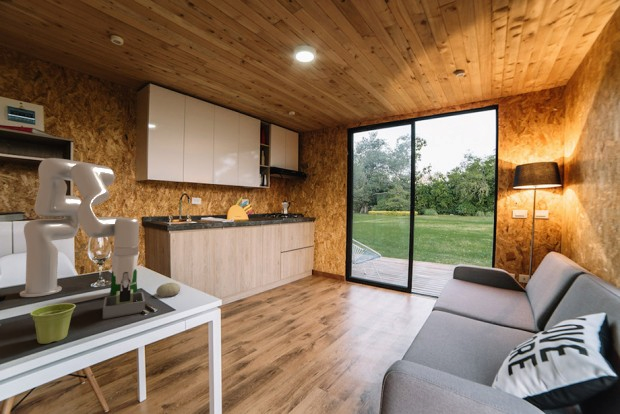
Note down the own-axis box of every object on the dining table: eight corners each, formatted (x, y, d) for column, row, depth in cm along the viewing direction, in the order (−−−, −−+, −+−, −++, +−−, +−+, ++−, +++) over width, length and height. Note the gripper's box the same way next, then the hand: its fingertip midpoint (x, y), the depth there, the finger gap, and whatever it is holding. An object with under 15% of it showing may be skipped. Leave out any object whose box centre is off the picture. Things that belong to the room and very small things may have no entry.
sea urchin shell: (151, 290, 116) (165, 275, 120) (164, 300, 120) (177, 285, 124) (158, 295, 110) (173, 279, 114) (172, 305, 114) (186, 289, 118)
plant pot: (49, 331, 81) (50, 303, 81) (82, 331, 82) (83, 302, 82) (18, 347, 72) (19, 315, 72) (56, 347, 73) (57, 315, 73)
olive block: (116, 307, 100) (116, 291, 100) (132, 304, 102) (132, 289, 102) (115, 311, 96) (116, 295, 96) (132, 309, 98) (133, 293, 98)
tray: (104, 307, 100) (104, 296, 100) (142, 301, 107) (143, 291, 107) (102, 319, 90) (103, 307, 90) (144, 312, 97) (145, 301, 97)
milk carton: (124, 289, 122) (125, 245, 122) (141, 291, 120) (142, 246, 120) (106, 295, 114) (107, 248, 113) (123, 297, 112) (125, 249, 112)
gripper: (114, 248, 104) (112, 292, 104) (112, 256, 90) (111, 306, 90) (137, 247, 108) (135, 289, 108) (139, 254, 94) (137, 302, 94)
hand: (124, 297), depth 99 cm, fingers open, 9 cm apart
